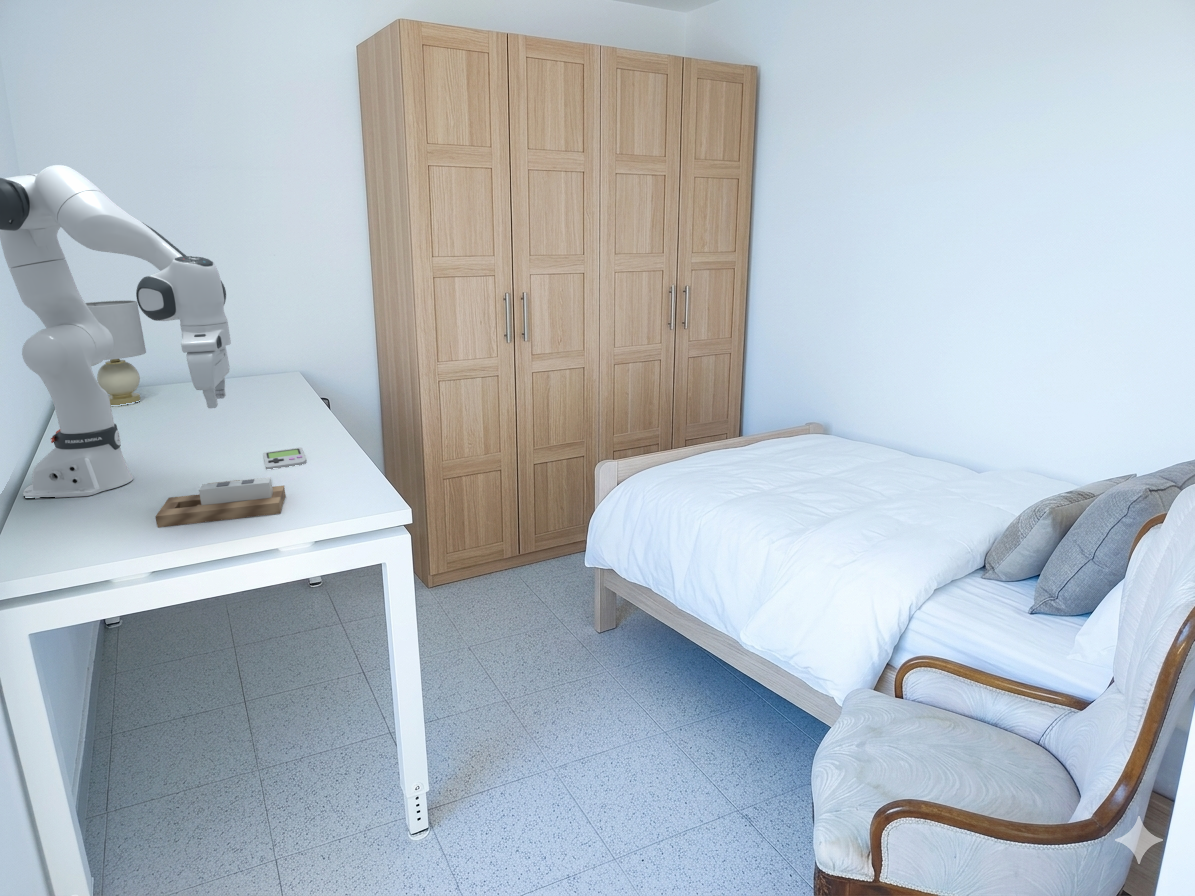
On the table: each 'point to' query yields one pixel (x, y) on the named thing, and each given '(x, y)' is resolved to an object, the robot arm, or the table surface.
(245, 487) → the power strip
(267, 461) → the handheld gaming console
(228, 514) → the keyhole board
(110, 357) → the lamp
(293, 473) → the table surface
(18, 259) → the robot arm
